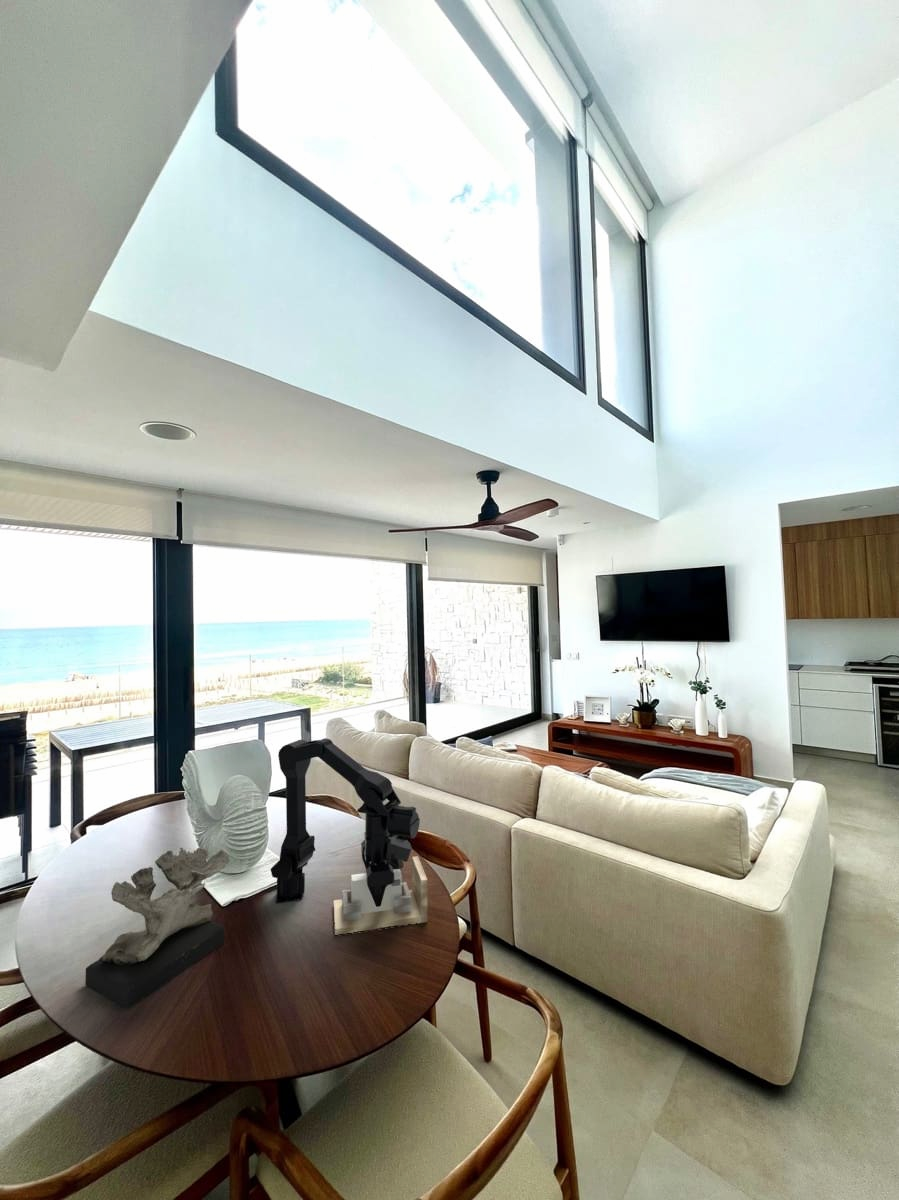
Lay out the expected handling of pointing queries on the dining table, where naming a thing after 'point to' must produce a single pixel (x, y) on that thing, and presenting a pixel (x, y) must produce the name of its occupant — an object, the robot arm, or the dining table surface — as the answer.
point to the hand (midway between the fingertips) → (376, 895)
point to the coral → (159, 929)
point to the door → (364, 896)
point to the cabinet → (405, 910)
